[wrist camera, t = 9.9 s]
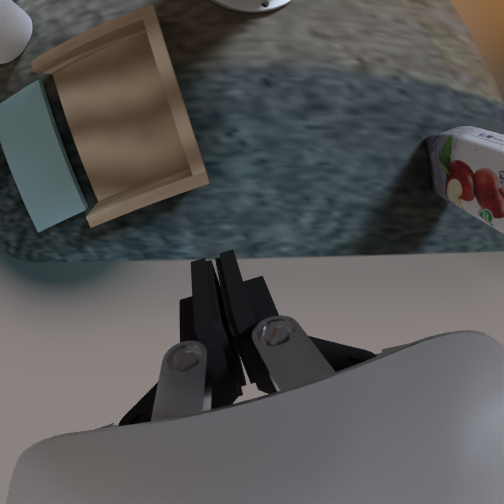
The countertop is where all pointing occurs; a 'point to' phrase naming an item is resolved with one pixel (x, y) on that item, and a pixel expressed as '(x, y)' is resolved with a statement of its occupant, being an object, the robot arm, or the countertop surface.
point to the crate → (125, 114)
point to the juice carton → (470, 171)
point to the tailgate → (39, 158)
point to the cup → (13, 31)
